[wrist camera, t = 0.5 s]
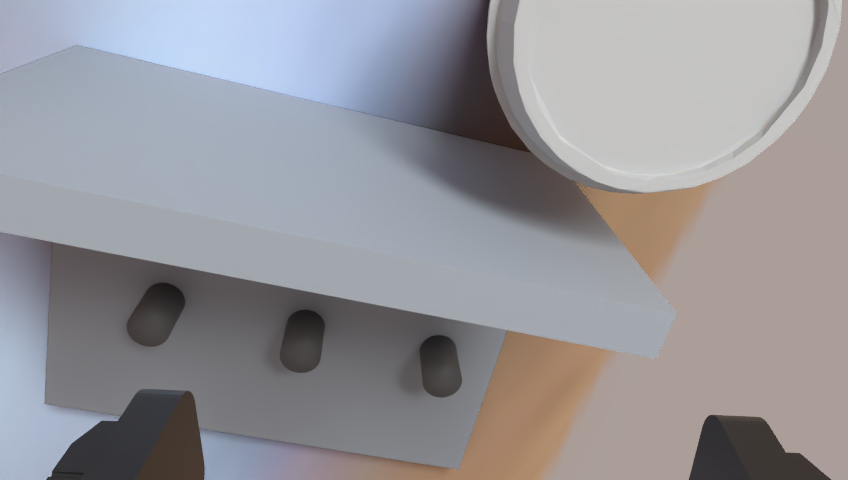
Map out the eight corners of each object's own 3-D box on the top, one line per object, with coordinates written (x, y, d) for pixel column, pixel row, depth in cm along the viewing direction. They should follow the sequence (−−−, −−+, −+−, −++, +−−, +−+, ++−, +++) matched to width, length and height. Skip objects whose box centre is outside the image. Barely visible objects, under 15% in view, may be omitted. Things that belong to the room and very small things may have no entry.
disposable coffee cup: (710, -104, 27) (930, -127, 16) (634, 126, 31) (773, 232, 20) (478, -160, 26) (550, -225, 15) (428, 88, 30) (457, 178, 19)
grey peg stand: (76, 45, 28) (-173, 138, 15) (556, 158, 31) (677, 313, 19) (57, 385, 35) (-128, 647, 22) (455, 450, 38) (494, 711, 25)
